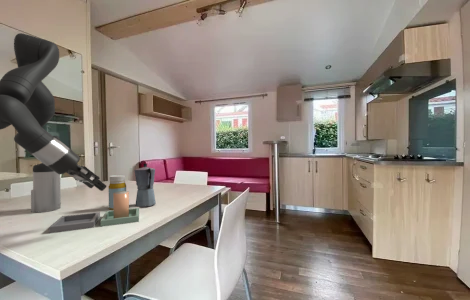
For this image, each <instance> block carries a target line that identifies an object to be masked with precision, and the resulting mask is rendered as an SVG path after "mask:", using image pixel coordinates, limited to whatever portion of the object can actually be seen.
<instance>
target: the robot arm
mask: <svg viewBox="0 0 470 300" xmlns="http://www.w3.org/2000/svg"><path fill="white" fill-rule="evenodd" d="M13 40H14V41H13V52H14V56H15V60H16V64H17V67H15V68H13V69H10V70H8V71H7V72H6V73H5V74H4V75H3V76H2V78H1V79H0V131H1V130H4V129H6V128H8V127H10V126H12V127H13V128H14V129H15V131H16V132H17V133H16V134H15V135H14V137H13V141H14V142H15V143H16V144H17V145H18V146H20V147H21V148H23V149H24V150H25V151H26V152H28V153H29V155H30V156H32V157H35V159H37V161H40V163H39V164H37V163H36V164H35V165H33V166H32V189H31V190H30V208H31V209H30V212H31V213H44V212H52V211H56V210H60V208H61V207H62V205H61V203H62V201H61V200H62V199H61V197H62V196H61V175H63V174H65V173H66V174H67V175H69V177H72V178H73V179H74V180H75V181H77V182H79V183H82V184H83V185H85V186H86V187H88V188H89V189H93V188H94V187H95V188H96V189H97V190H99V191H101V192H103V191H104V190H105V189H106V188H107V184H105V183H104V182H103V181H101V180H100V176H98V175H97V174H96V173H94V172H93V171H91V170H90V169H89V168H88V167H87V166H84V165H79V164H78V163H79V162H80V160H81V157H80V156H79V155H78V154H77V153H76V152H75V151H73V150H72V149H71V148H70V147H69V146H67V145H66V144H65V143H63V142H62V141H61V138H60V137H59V136H57V135H52V134H50V133H49V132H48V131H47V130H46V129H45V128H43V127H45V126H46V124H47V123H48V122H50V120H52V118H53V117H54V115H55V113H56V105H55V104H56V102H55V97H54V95H53V94H52V91H51V90H50V89H49V88H48V87H47V86H46V84H45V83H44V82H43V81H44V79H46V78H47V77H48V76H49V74H51V72H52V71H54V70H55V68H56V67H58V66H57V65H58V64H59V61H60V49H59V47H58V45H57V44H56V43H54V42H53V41H50V40H46V39H43V38H40V37H37V36H34V35H30V34H27V33H26V34H25V33H21V32H20V33H17V34H16V35H15V37H14V39H13ZM91 178H93V179H91Z"/></svg>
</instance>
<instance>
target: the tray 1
mask: <svg viewBox="0 0 470 300" xmlns="http://www.w3.org/2000/svg"><path fill="white" fill-rule="evenodd" d="M100 218H101V212H100V211H98V212H97V211H95V212H89V213H80V214H79V213H78V214H69V215H61V216H60V217H59V218H58V219H57V220H56V221H54V222H53V223H52V224H50V226H49V227H48V233H49V234H53V233H60V232H68V231H77V230H85V229H91V228H94V227H95V226H96V225H97V223H98V221H99V220H100Z"/></svg>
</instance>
